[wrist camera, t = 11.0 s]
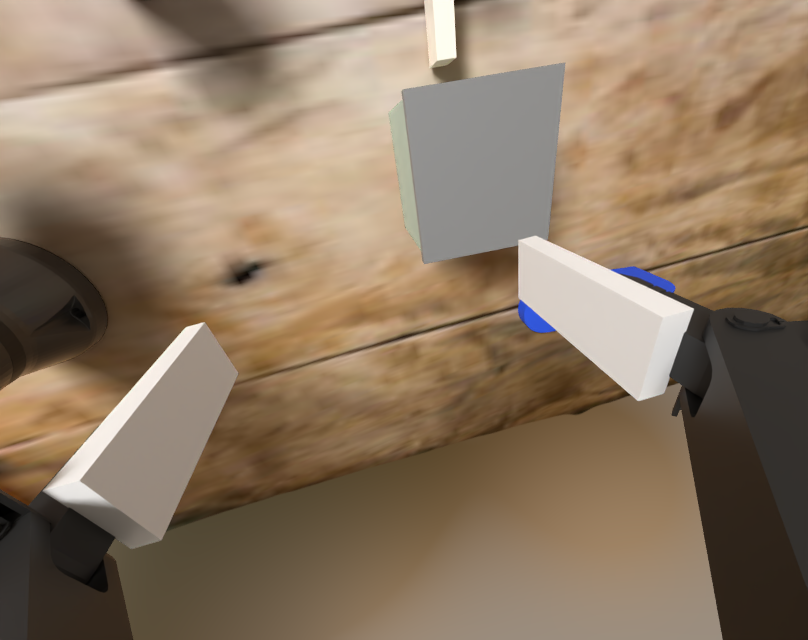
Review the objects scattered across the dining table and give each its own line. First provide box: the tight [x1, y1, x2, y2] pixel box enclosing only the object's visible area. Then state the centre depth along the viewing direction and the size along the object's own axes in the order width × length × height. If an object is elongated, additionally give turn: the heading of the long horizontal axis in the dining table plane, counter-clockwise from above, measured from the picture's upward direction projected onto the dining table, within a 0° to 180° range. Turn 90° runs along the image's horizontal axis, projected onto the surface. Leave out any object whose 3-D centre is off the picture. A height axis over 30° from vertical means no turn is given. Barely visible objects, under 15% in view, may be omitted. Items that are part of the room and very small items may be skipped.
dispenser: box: [389, 63, 565, 264], centre depth 29 cm, size 13×12×13 cm
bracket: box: [518, 267, 675, 333], centre depth 43 cm, size 18×8×9 cm, turn 95°
